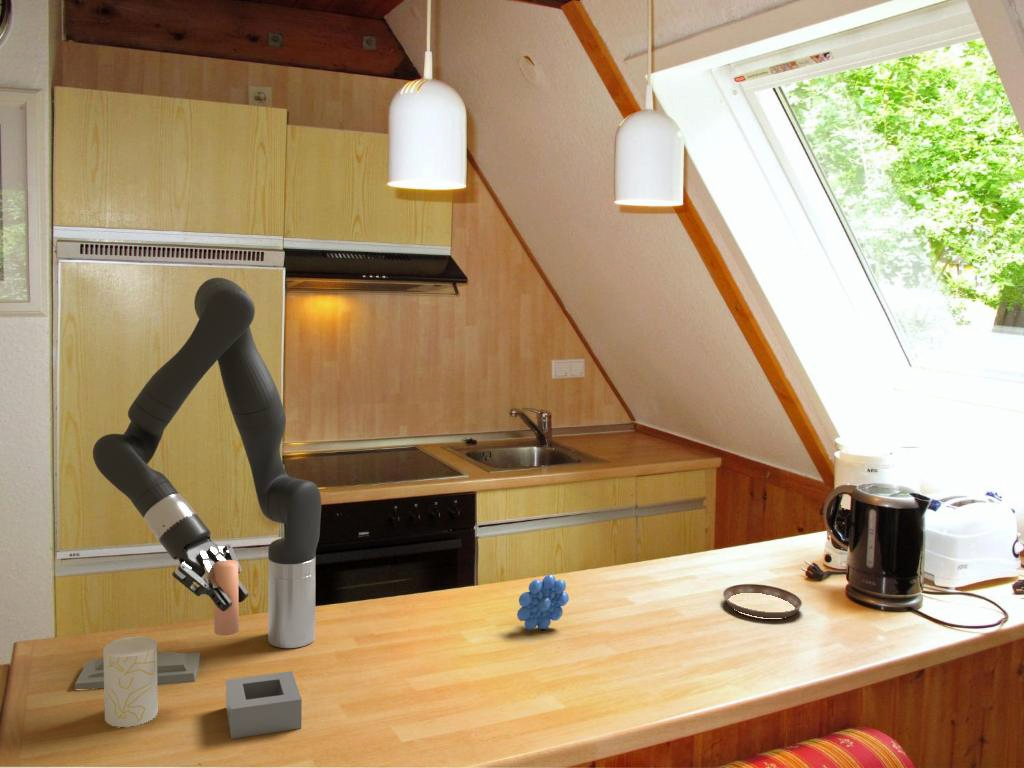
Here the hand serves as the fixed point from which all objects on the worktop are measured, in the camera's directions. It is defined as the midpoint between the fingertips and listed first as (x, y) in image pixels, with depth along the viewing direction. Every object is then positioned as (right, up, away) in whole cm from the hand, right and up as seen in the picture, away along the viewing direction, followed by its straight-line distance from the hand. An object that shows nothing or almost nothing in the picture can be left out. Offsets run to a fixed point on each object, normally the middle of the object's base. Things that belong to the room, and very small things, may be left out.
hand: (236, 603), depth 155 cm
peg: (-2, -5, +1) cm, 6 cm away
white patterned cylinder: (-16, -18, -4) cm, 24 cm away
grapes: (+53, -15, +39) cm, 67 cm away
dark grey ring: (+105, -15, +55) cm, 119 cm away
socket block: (+6, -18, -4) cm, 19 cm away
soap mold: (-21, -16, +11) cm, 29 cm away
